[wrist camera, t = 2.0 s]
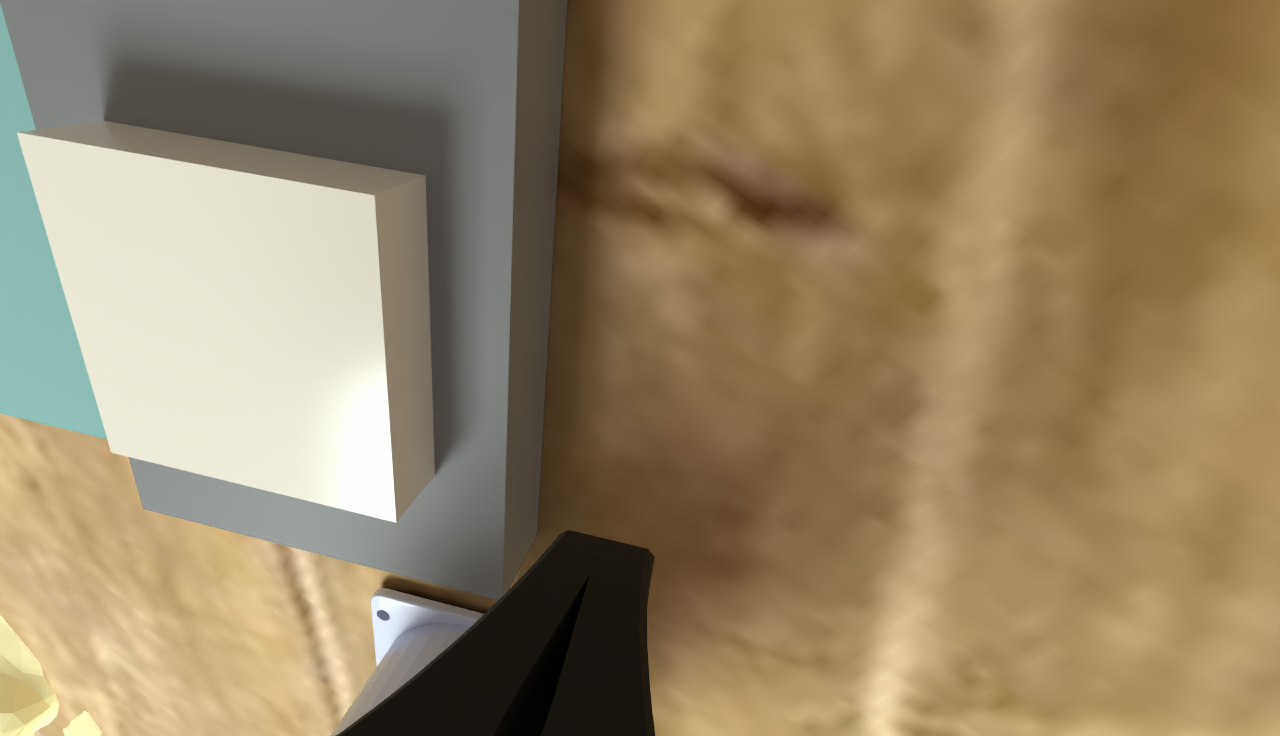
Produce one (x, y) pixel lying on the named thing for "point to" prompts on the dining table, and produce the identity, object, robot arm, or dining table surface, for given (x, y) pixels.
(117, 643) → the dining table surface
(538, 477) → the riser
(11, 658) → the cloth
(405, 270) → the coaster
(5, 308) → the drip mat
